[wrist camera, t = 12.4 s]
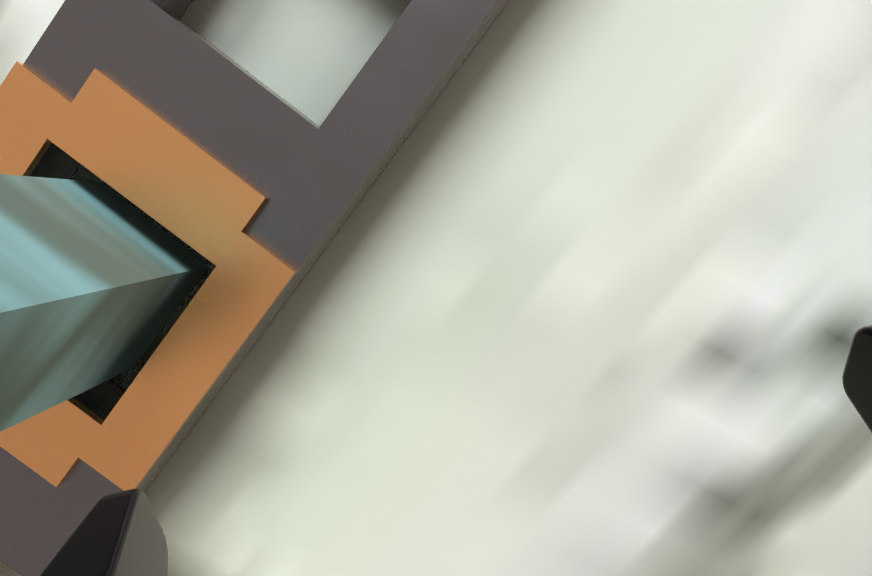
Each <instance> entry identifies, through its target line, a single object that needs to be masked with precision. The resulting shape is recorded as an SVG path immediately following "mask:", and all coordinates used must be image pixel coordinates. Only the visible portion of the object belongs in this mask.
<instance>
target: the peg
mask: <svg viewBox="0 0 872 576" xmlns="http://www.w3.org/2000/svg"><path fill="white" fill-rule="evenodd" d="M209 267H210V266H209V265H207V264H206V263H205V262H204V261H202V260H201V259H200V258H199V257H197V256H196V255H195V254H194V253H192V252H191V251H190V250H188V249H187V248H186V247H185V246H183V245H182V244H181V243H180V242H178V241H177V240H176V239H174V238H173V237H172V236H171V235H169V234H168V233H167V232H166V231H164V230H163V229H162V228H160V227H159V226H158V225H157V224H155V223H154V222H153V221H152V220H150V219H149V218H148V217H146V216H145V215H144V214H143V213H141V212H140V211H139V210H138V209H136V208H135V207H134V206H132V205H131V204H130V203H129V202H127V201H126V200H125V199H124V198H122V197H121V196H120V195H119V194H117V193H116V192H115V191H113V190H112V189H111V188H110V187H108V186H107V185H106V184H105V183H103V182H96V181H83V180H70V179H58V178H45V177H32V176H19V175H6V174H0V432H1V431H3V430H5V429H7V428H9V427H11V426H14V425H16V424H18V423H20V422H22V421H24V420H26V419H28V418H30V417H32V416H34V415H37V414H39V413H41V412H43V411H45V410H47V409H49V408H51V407H53V406H55V405H57V404H60V403H62V402H64V401H66V400H68V399H70V398H72V397H74V396H76V395H78V394H80V393H83V392H85V391H87V390H89V389H91V388H93V387H95V386H97V385H99V384H101V383H103V382H106V381H108V380H110V379H112V378H114V377H116V376H118V375H120V374H122V373H124V372H126V371H129V370H131V369H133V367H134V366H135V365H136V363H137V362H138V361H139V359H140V358H141V357H142V355H143V354H144V353H145V351H146V350H147V349H148V347H149V346H150V345H151V343H152V342H153V341H154V339H155V338H156V337H157V335H158V334H159V333H160V332H161V330H162V329H163V328H164V326H165V325H166V324H167V322H168V321H169V320H170V318H171V317H172V316H173V314H174V313H175V312H176V310H177V309H178V308H179V306H180V305H181V304H182V302H183V301H184V300H185V298H186V297H187V296H188V294H189V293H190V292H191V291H192V289H193V288H194V287H195V285H196V284H197V283H198V281H199V280H200V279H201V277H202V276H203V275H204V273H205V272H206V271H207V269H208V268H209Z"/></svg>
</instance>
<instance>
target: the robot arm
mask: <svg viewBox="0 0 872 576" xmlns="http://www.w3.org/2000/svg"><path fill="white" fill-rule="evenodd" d="M843 386H844V389H845V392H846V394H847V396H848V398H849V399H850V401H851V402H852V404H853V405H854V407H855V408H856V410H857V411H858V413H859V414H860V416H861V417H862V419H863V420H864V422H865V423H866V425H867V426H868V428H869V429H870V431H871V432H872V325H870V326H866V327H862V328H860V329H859V330H858V331H857V332H856V333H855V334H854V337H853V340H852V343H851V347H850V351H849V354H848V358H847V361H846V365H845V369H844V372H843ZM40 576H168V554H167V544H166V539H165V535H164V533H163V530H162V528H161V526H160V524H159V522H158V520H157V518H156V515H155V513H154V511H153V509H152V507H151V505H150V503H149V500H148V498H147V496H146V495H145V493H144V492H143V491H142V490H140V489H130V490H125V491H121V492H116V493H112V494H108V495H105V496H103V497H102V498H101V499H100V500H99V501H98V502H97V503H96V504H95V506H94V507H93V508H92V509H91V511H90V512H89V513H88V515H87V516H86V517H85V518H84V520H83V521H82V522H81V523H80V525H79V526H78V527H77V529H76V530H75V531H74V532H73V534H72V535H71V536H70V538H69V539H68V540H67V541H66V543H65V544H64V545H63V546H62V548H61V549H60V550H59V552H58V553H57V554H56V555H55V557H54V558H53V559H52V560H51V562H50V563H49V564H48V566H47V567H46V568H45V569H44V571H43V572H42V573H41V574H40Z"/></svg>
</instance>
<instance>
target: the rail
mask: <svg viewBox="0 0 872 576" xmlns="http://www.w3.org/2000/svg"><path fill="white" fill-rule="evenodd" d="M191 1H192V0H65V2H64V3H63V5H62V6H61V8H60V9H59V11H58V12H57V14H56V15H55V17H54V18H53V20H52V21H51V23H50V25H49V26H48V28H47V29H46V31H45V32H44V34H43V35H42V37H41V38H40V40H39V41H38V43H37V44H36V46H35V47H34V49H33V50H32V52H31V53H30V55H29V56H28V58H27V59H26V61H25V63H24V64H23V63H20V62H16V63H15V65H14V66H13V68H12V69H11V71H10V72H9V74H8V75H7V77H6V78H5V80H4V81H3V83H2V84H1V86H0V174H6V175H19V176H32V177H45V178H58V179H71V177H72V176H73V174H74V173H75V171H76V170H77V169H78V167H79V166H80V164H82V165H83V166H84V167H86V168H87V169H88V170H89V171H91V172H92V173H93V174H95V175H96V176H97V177H99V178H100V179H101V180H103V181H104V182H105V183H107V184H108V185H109V186H111V187H112V188H113V189H115V190H116V191H117V192H119V193H120V194H121V195H123V196H124V197H125V198H127V199H128V200H129V201H131V202H132V203H133V204H135V205H136V206H137V207H139V208H140V209H141V210H143V211H144V212H145V213H147V214H148V215H149V216H151V217H152V218H153V219H155V220H156V221H157V222H159V223H160V224H161V225H162V226H164V227H165V228H166V229H168V230H169V231H170V232H172V233H173V234H174V235H176V236H177V237H178V238H180V239H181V240H182V241H184V242H185V243H186V244H188V245H189V246H190V247H192V248H193V249H194V250H196V251H197V252H198V253H200V254H201V255H202V256H204V257H205V258H206V259H208V260H209V261H210V262H212V263H213V264H214V265H216V267H215V268H214V270H213V271H212V273H211V274H210V275H209V277H208V278H207V279H206V281H205V282H204V284H203V285H202V286H201V288H200V289H199V291H198V292H197V293H196V295H195V296H194V297H193V299H192V300H191V302H190V303H189V304H188V306H187V307H186V309H185V310H184V311H183V313H182V314H181V315H180V317H179V318H178V320H177V321H176V322H175V324H174V325H173V327H172V328H171V329H170V331H169V332H168V333H167V335H166V336H165V338H164V339H163V340H162V342H161V343H160V345H159V346H158V347H157V349H156V350H155V351H154V353H153V354H152V356H151V357H150V358H149V360H148V361H147V363H146V364H145V365H144V367H143V368H142V369H141V371H140V372H139V374H138V375H137V376H136V378H135V379H134V381H133V382H132V383H131V385H130V386H129V387H128V389H127V390H126V392H124V391H123V390H122V389H120V388H119V387H118V386H116V385H115V384H113V383H112V382H111V381H109V380H108V381H106V382H103V383H101V384H99V385H97V386H95V387H93V388H91V389H89V390H87V391H85V392H83V393H80V394H78V395H76V396H74V397H72V398H70V399H68V400H66V401H64V402H62V403H60V404H57V405H55V406H53V407H51V408H49V409H47V410H45V411H43V412H41V413H39V414H37V415H34V416H32V417H30V418H28V419H26V420H24V421H22V422H20V423H18V424H16V425H14V426H11V427H9V428H7V429H5V430H3V431H1V432H0V560H1V561H3V562H4V563H6V564H7V565H8V566H10V567H11V568H12V569H14V570H15V571H17V572H18V573H19V574H21V575H22V576H40V574H41V573H42V572H43V571H44V569H45V568H46V567H47V566H48V564H49V563H50V562H51V560H52V559H53V558H54V557H55V555H56V554H57V553H58V552H59V550H60V549H61V548H62V546H63V545H64V544H65V543H66V541H67V540H68V539H69V538H70V536H71V535H72V534H73V532H74V531H75V530H76V529H77V527H78V526H79V525H80V523H81V522H82V521H83V520H84V518H85V517H86V516H87V515H88V513H89V512H90V511H91V509H92V508H93V507H94V506H95V504H96V503H97V502H98V501H99V500H100V499H101V498H102V497H103V496H105V495H108V494H112V493H116V492H121V491H125V490H130V489H140V490H142V491H143V492H145V491H146V490H147V488H148V487H149V486H150V484H151V483H152V481H153V480H154V479H155V477H156V476H157V475H158V473H159V472H160V471H161V469H162V468H163V467H164V465H165V464H166V463H167V461H168V460H169V459H170V457H171V456H172V454H173V453H174V452H175V450H176V449H177V448H178V446H179V445H180V444H181V442H182V441H183V440H184V438H185V437H186V436H187V434H188V433H189V432H190V430H191V429H192V427H193V426H194V425H195V423H196V422H197V421H198V419H199V418H200V417H201V415H202V414H203V413H204V411H205V410H206V409H207V407H208V406H209V405H210V403H211V402H212V400H213V399H214V398H215V396H216V395H217V394H218V392H219V391H220V390H221V388H222V387H223V386H224V384H225V383H226V382H227V380H228V379H229V378H230V376H231V375H232V373H233V372H234V371H235V369H236V368H237V367H238V365H239V364H240V363H241V361H242V360H243V359H244V357H245V356H246V355H247V353H248V352H249V351H250V349H251V348H252V346H253V345H254V344H255V342H256V341H257V340H258V338H259V337H260V336H261V334H262V333H263V332H264V330H265V329H266V328H267V326H268V325H269V324H270V322H271V321H272V320H273V318H274V317H275V315H276V314H277V313H278V311H279V310H280V309H281V307H282V306H283V305H284V303H285V302H286V301H287V299H288V298H289V297H290V295H291V294H292V293H293V291H294V290H295V288H296V287H297V286H298V284H299V283H300V282H301V280H302V279H303V278H304V276H305V275H306V274H307V272H308V271H309V270H310V268H311V267H312V266H313V264H314V263H315V261H316V260H317V259H318V257H319V256H320V255H321V253H322V252H323V251H324V249H325V248H326V247H327V245H328V244H329V243H330V241H331V240H332V239H333V237H334V236H335V234H336V233H337V232H338V230H339V229H340V228H341V226H342V225H343V224H344V222H345V221H346V220H347V218H348V217H349V216H350V214H351V213H352V212H353V210H354V209H355V207H356V206H357V205H358V203H359V202H360V201H361V199H362V198H363V197H364V195H365V194H366V193H367V191H368V190H369V189H370V187H371V186H372V185H373V183H374V182H375V180H376V179H377V178H378V176H379V175H380V174H381V172H382V171H383V170H384V168H385V167H386V166H387V164H388V163H389V162H390V160H391V159H392V158H393V156H394V155H395V153H396V152H397V151H398V149H399V148H400V147H401V145H402V144H403V143H404V141H405V140H406V139H407V137H408V136H409V135H410V133H411V132H412V131H413V129H414V128H415V126H416V125H417V124H418V122H419V121H420V120H421V118H422V117H423V116H424V114H425V113H426V112H427V110H428V109H429V108H430V106H431V105H432V104H433V102H434V101H435V99H436V98H437V97H438V95H439V94H440V93H441V91H442V90H443V89H444V87H445V86H446V85H447V83H448V82H449V81H450V79H451V78H452V77H453V75H454V74H455V72H456V71H457V70H458V68H459V67H460V66H461V64H462V63H463V62H464V60H465V59H466V58H467V56H468V55H469V54H470V52H471V51H472V50H473V48H474V47H475V45H476V44H477V43H478V41H479V40H480V39H481V37H482V36H483V35H484V33H485V32H486V31H487V29H488V28H489V27H490V25H491V24H492V23H493V21H494V20H495V18H496V17H497V16H498V14H499V13H500V12H501V10H502V9H503V8H504V6H505V5H506V4H507V2H508V1H509V0H411V2H410V3H409V4H408V6H407V7H406V8H405V10H404V11H403V13H402V14H401V15H400V17H399V18H398V20H397V21H396V22H395V24H394V25H393V26H392V28H391V29H390V31H389V32H388V33H387V35H386V36H385V38H384V39H383V40H382V42H381V43H380V44H379V46H378V47H377V49H376V50H375V51H374V53H373V54H372V56H371V57H370V58H369V60H368V61H367V62H366V64H365V65H364V67H363V68H362V69H361V71H360V72H359V74H358V75H357V76H356V78H355V79H354V80H353V82H352V83H351V85H350V86H349V87H348V89H347V90H346V92H345V93H344V94H343V96H342V97H341V98H340V100H339V101H338V103H337V104H336V105H335V107H334V108H333V110H332V111H331V112H330V114H329V115H328V116H327V118H326V119H325V121H324V122H323V123H322V125H321V126H320V127H319V126H317V125H316V124H315V123H314V122H312V121H311V120H310V119H308V118H307V117H306V116H304V115H303V114H302V113H300V112H299V111H298V110H297V109H295V108H294V107H293V106H291V105H290V104H289V103H287V102H286V101H285V100H284V99H282V98H281V97H280V96H278V95H277V94H276V93H274V92H273V91H272V90H270V89H269V88H268V87H267V86H265V85H264V84H263V83H261V82H260V81H259V80H257V79H256V78H255V77H254V76H252V75H251V74H250V73H248V72H247V71H246V70H244V69H243V68H242V67H240V66H239V65H238V64H237V63H235V62H234V61H233V60H231V59H230V58H229V57H227V56H226V55H225V54H224V53H222V52H221V51H220V50H218V49H217V48H216V47H214V46H213V45H212V44H210V43H209V42H208V41H207V40H205V39H204V38H203V37H201V36H200V35H199V34H197V33H196V32H195V31H194V30H192V29H191V28H190V27H188V26H187V25H186V24H184V23H183V22H182V21H180V20H179V19H180V17H181V16H182V15H183V13H184V12H185V10H186V9H187V7H188V6H189V4H190V3H191Z"/></svg>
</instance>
